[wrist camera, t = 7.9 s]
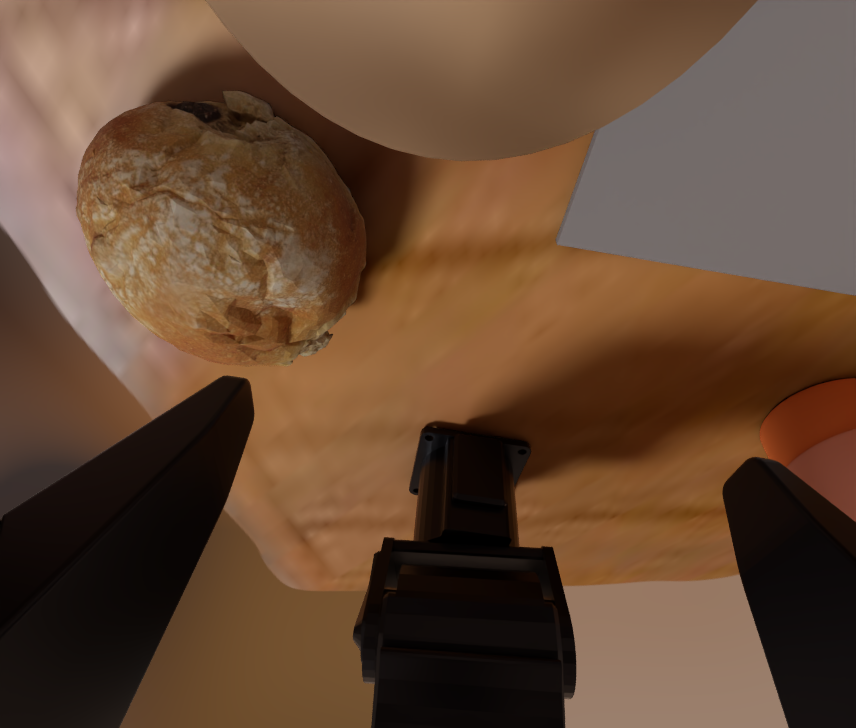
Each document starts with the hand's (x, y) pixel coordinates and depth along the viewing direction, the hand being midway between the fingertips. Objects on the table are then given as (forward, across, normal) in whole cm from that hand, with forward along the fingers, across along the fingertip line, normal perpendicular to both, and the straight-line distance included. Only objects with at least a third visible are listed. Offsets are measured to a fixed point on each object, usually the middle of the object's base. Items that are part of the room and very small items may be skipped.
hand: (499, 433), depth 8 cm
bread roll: (+12, +9, +3) cm, 16 cm away
